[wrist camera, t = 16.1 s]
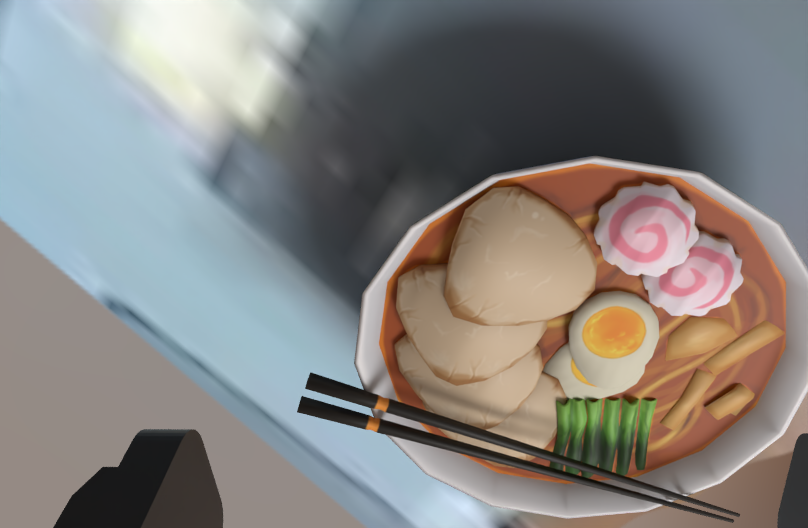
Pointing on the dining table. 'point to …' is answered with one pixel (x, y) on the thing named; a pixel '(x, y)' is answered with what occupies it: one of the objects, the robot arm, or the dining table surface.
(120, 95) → the dining table surface
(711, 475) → the ramen bowl
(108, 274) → the dining table surface
